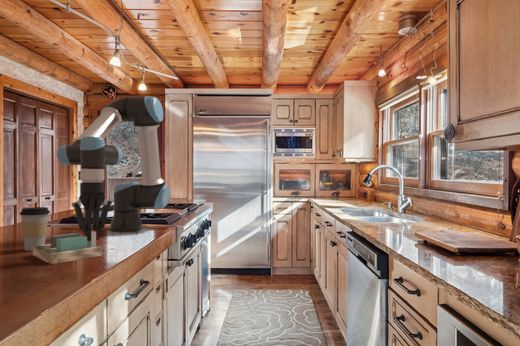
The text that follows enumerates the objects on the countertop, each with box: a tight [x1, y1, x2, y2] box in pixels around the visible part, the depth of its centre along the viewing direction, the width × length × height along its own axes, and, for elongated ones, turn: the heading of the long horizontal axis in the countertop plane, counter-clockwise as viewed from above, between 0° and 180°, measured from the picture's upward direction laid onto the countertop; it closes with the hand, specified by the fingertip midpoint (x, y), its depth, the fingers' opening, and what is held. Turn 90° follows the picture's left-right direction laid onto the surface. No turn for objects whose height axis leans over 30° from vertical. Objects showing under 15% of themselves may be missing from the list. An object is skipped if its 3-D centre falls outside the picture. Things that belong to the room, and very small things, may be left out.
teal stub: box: [56, 235, 88, 253], centre depth 114 cm, size 8×4×6 cm, turn 139°
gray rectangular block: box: [50, 232, 81, 248], centre depth 120 cm, size 8×4×6 cm, turn 139°
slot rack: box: [32, 242, 104, 265], centre depth 117 cm, size 16×18×3 cm
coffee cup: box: [18, 206, 51, 252], centre depth 126 cm, size 9×9×15 cm
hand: (92, 250), depth 119 cm, fingers closed
